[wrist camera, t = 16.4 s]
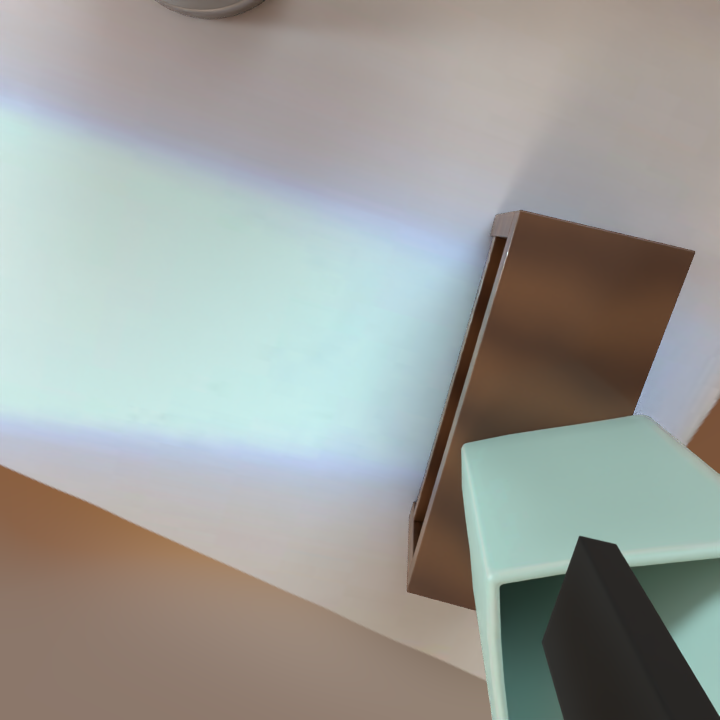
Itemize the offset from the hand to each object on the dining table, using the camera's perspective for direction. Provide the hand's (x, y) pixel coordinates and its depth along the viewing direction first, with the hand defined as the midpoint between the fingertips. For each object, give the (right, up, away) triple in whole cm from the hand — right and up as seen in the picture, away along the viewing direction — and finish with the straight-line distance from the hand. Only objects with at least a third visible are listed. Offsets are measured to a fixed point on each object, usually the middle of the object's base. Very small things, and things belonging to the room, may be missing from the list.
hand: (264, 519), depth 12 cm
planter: (+12, -4, +23) cm, 26 cm away
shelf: (+14, +1, +32) cm, 35 cm away
